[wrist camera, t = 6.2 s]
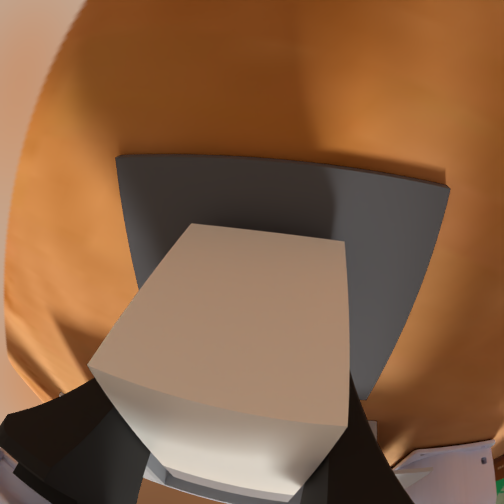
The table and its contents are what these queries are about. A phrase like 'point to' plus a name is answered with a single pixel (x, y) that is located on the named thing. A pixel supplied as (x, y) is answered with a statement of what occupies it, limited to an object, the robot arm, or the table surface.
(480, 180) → the table surface
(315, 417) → the capped box
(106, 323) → the table surface
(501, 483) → the food container
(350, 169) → the mat
